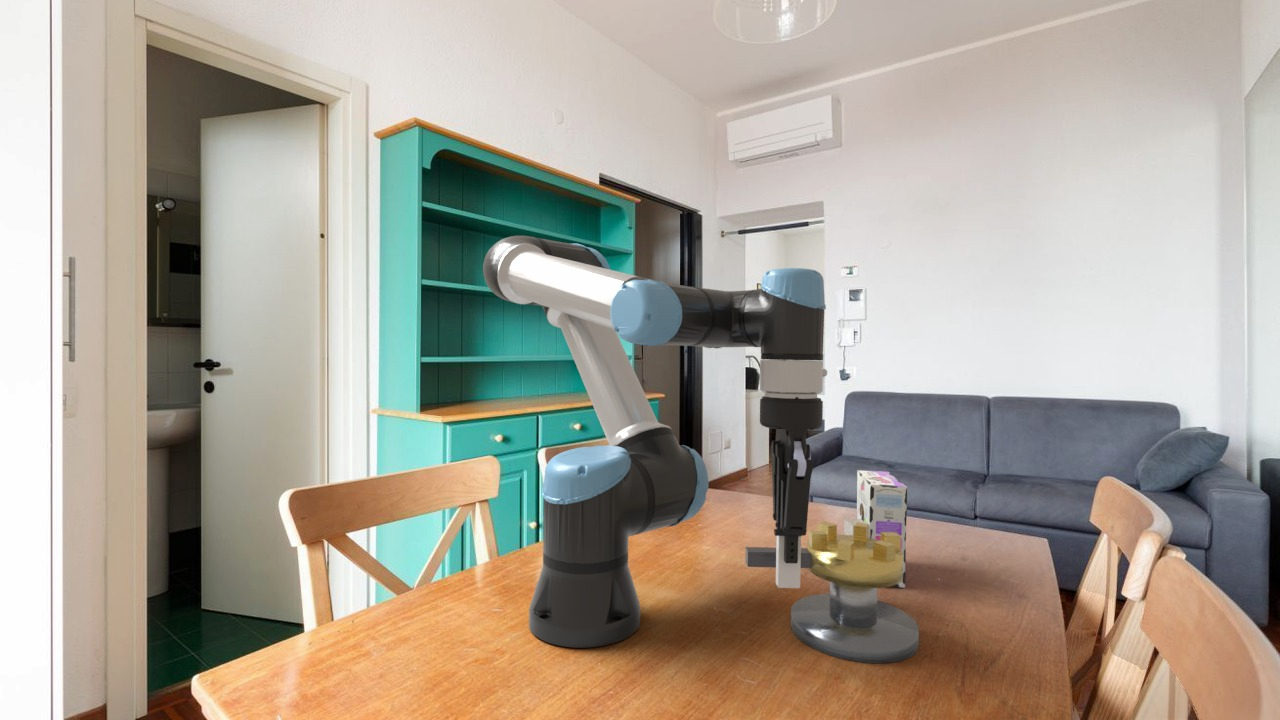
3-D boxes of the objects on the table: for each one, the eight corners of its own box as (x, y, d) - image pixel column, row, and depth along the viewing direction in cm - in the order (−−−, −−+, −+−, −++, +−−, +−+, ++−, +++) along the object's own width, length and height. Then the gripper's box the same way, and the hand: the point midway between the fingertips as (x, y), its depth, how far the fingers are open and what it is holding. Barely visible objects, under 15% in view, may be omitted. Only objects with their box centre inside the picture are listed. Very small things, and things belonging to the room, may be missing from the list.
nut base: (807, 661, 72) (809, 562, 72) (774, 594, 92) (775, 517, 92) (941, 665, 71) (943, 565, 71) (879, 597, 91) (880, 519, 91)
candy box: (906, 589, 95) (908, 486, 95) (867, 586, 96) (869, 484, 96) (888, 560, 108) (890, 470, 108) (854, 557, 110) (856, 468, 109)
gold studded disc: (753, 585, 74) (754, 544, 74) (740, 553, 86) (740, 518, 86) (918, 589, 73) (919, 548, 73) (882, 556, 85) (882, 521, 85)
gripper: (837, 399, 67) (833, 609, 67) (808, 392, 80) (805, 567, 80) (770, 398, 67) (766, 607, 67) (752, 391, 80) (749, 566, 80)
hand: (787, 585), depth 74 cm, fingers closed
